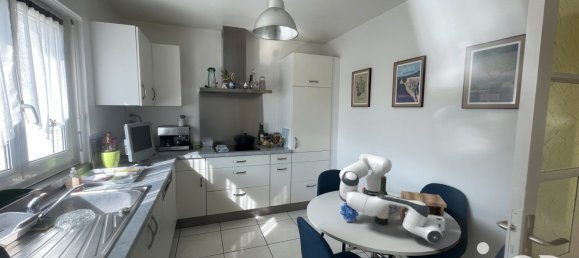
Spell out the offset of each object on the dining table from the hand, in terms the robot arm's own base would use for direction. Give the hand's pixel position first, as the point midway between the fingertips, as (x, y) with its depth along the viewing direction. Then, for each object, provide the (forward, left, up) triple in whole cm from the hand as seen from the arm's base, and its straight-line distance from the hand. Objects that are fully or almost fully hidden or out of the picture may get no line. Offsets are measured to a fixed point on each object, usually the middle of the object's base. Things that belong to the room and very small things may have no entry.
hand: (421, 213), depth 145 cm
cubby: (0, +2, -7) cm, 8 cm away
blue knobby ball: (-41, -12, -7) cm, 43 cm away
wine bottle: (-23, -4, -8) cm, 25 cm away
